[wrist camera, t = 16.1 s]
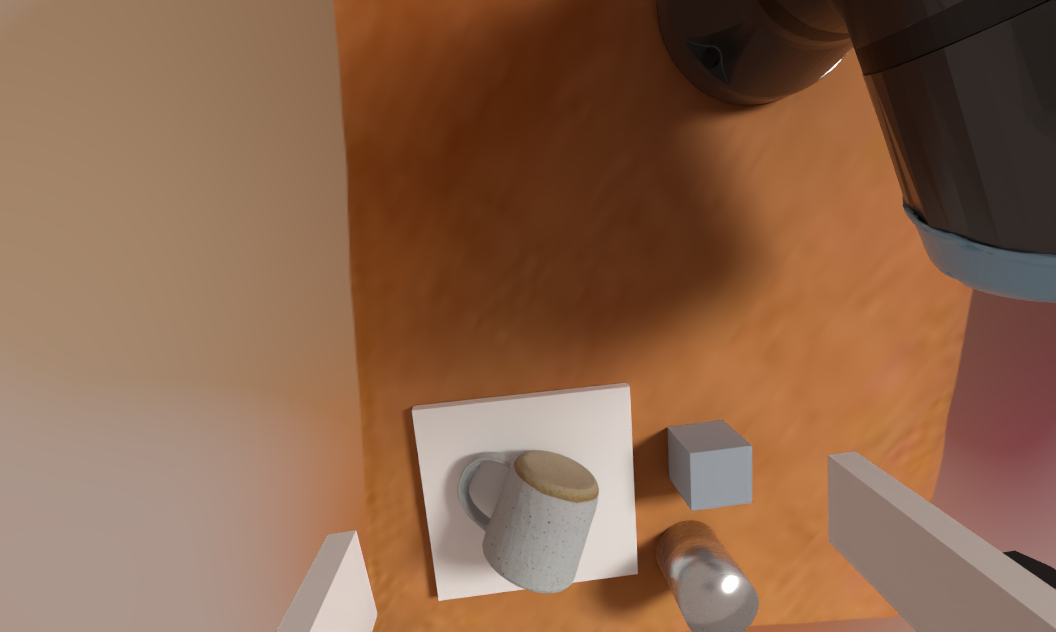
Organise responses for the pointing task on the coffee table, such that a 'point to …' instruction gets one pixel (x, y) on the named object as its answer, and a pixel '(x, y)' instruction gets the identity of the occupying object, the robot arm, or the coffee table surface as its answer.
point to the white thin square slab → (509, 428)
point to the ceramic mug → (535, 518)
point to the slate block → (710, 465)
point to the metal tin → (705, 579)
